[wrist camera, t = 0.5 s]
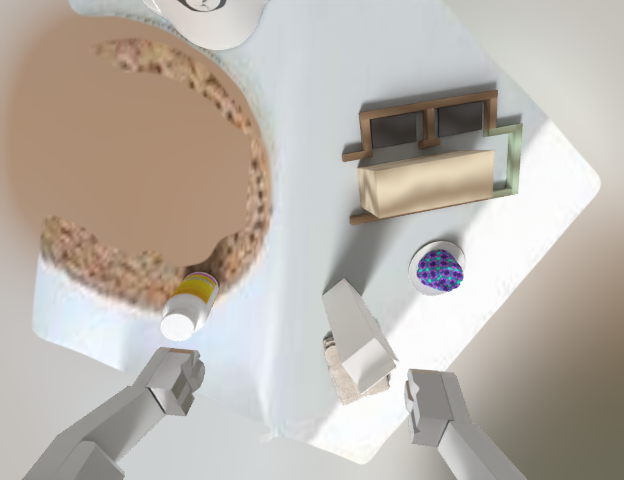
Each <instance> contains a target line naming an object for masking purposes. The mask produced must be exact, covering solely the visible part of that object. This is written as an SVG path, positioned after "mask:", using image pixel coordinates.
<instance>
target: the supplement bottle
mask: <svg viewBox="0 0 624 480" xmlns="http://www.w3.org/2000/svg"><path fill="white" fill-rule="evenodd" d="M218 290H219V287H218V283H217V281H216V280H215V278H214V277H213V276H211V275H210V274H208V273H205V272H194V273H191V274H189V275H188V276H186V277H185V279H184V280H183V281H182V282H181V284H180V285H179V286H178V288H177V289H176V291H175V292H174V293H173V295H172V296H171V297H170V299H169V300H168V301H167V303H166V304H165V306H164V309H163V320H162V322H161V331H162V333H163V334H164V335H165V336H166V337H167V338H168V339H170V340H173V341H183V340H186V339H188V338H190V337H191V336H192V334H193V333H194V331H197V330H198V329H200V328H201V327H202V326H203V325H204V324H205V322H206V320H207V318H208V315H209V313H210V311H211V308H212V306H213V304H214V302H215V299H216V297H217V294H218Z"/></svg>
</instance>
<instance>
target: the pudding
mask: <svg viewBox="0 0 624 480" xmlns="http://www.w3.org/2000/svg"><path fill="white" fill-rule="evenodd" d="M436 249H442V250H438V251H437V252H435V251H432V250H436ZM445 250H446V251H448V252H449V253H450V254H448V253H447V252H446V251H445ZM426 253H427V254H426ZM425 254H426V256H425V258H423V259H421V258H422V257H423V256H424V255H425ZM420 259H421V260H420ZM417 265H418V267H419V269H418V271H417V274H416V269H417ZM464 269H465V258H464V255H463V252H462V251H461V249H460V248H459V247H458V246H456V245H455V244H453V243H451V242H447V241H437V242H433V243H430V244H428V245H426V246H425V247H423V248H422V249H421V250H419V251H418V252H417V254H416V255H415V256H414V258H413V259H412V261H411V264H410V267H409V280H410V283H411V285H412V286H413V288H414V289H415V290H416V291H418V292H419V293H421V294H423V295H427V296H436V295H440V294H443V293H446V292H449V291H452V290H453V289H455V288H457V287H458V286H459V285H460V282H461V281H462V280H463V273H464ZM417 276H418V278H420V279H421V282H422V283H423V284H424V285H423V284H422V283H421V282H420V281H419V280H418V278H417ZM425 285H426V286H425ZM428 286H429V287H428Z"/></svg>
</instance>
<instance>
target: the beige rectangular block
mask: <svg viewBox="0 0 624 480" xmlns="http://www.w3.org/2000/svg"><path fill="white" fill-rule="evenodd" d="M357 173H358V182H359V191H360V201H361V207H362V208H364V209H366V210H367V211H369V212H370V213H372V214H373V215H375V216H377V217H378V218H385V217H390V216H395V215H401V214H406V213H411V212H417V211H422V210H427V209H433V208H438V207H443V206H449V205H454V204H459V203H464V202H470V201H475V200H480V199H486V198H491V197H493V174H494V150H472V151H450V152H445V153H439V154H433V155H428V156H422V157H416V158H411V159H405V160H399V161H394V162H388V163H382V164H376V165H371V166H365V167H359V168H357Z"/></svg>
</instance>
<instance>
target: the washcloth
mask: <svg viewBox="0 0 624 480" xmlns="http://www.w3.org/2000/svg"><path fill="white" fill-rule="evenodd" d="M323 345H324V349H325V353H324V354H325V357H326V360H327V364H328V368H329V371H330V374H331V377H332V379H333V382H334V385H335V388H336V390H337V392H338V395H339V398H340V400H341V403H342V404H343V405H347V404H349V403H352V402H354V401H357V400H358V399H360V398H363V397H364V396H367V395H373V394H377V393H379V392H383V391H385V390H388V389H389V387H390V385H389V382H388V379H387V375H386V376H385V377H384V378H382V379H381V380H380V381H379V382H377V383H376V384H375V385H373V386H372V387H371V388H369V389H368V390H367V391H365V392H364V393H363V394H361V393H360V392H359V389H358V386H357V384H356V383H355V382H354V380H353V379H352V378H351V376H350V375H349V374H348V372H347V371H346V370H345V368H344V367H343V366H342V364H341V361H340V358H339V354H338V351H337V348H336V344H335V341H334V337H333V336H332V337H329V338H326V339H324V340H323Z"/></svg>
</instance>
